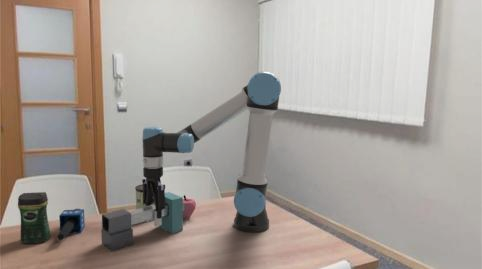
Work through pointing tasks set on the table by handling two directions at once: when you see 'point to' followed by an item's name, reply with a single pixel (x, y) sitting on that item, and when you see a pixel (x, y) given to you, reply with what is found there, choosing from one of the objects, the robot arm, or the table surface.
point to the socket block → (173, 213)
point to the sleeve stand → (116, 230)
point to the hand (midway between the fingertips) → (154, 223)
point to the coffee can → (141, 197)
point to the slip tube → (146, 214)
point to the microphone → (71, 222)
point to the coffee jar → (33, 217)
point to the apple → (188, 207)
